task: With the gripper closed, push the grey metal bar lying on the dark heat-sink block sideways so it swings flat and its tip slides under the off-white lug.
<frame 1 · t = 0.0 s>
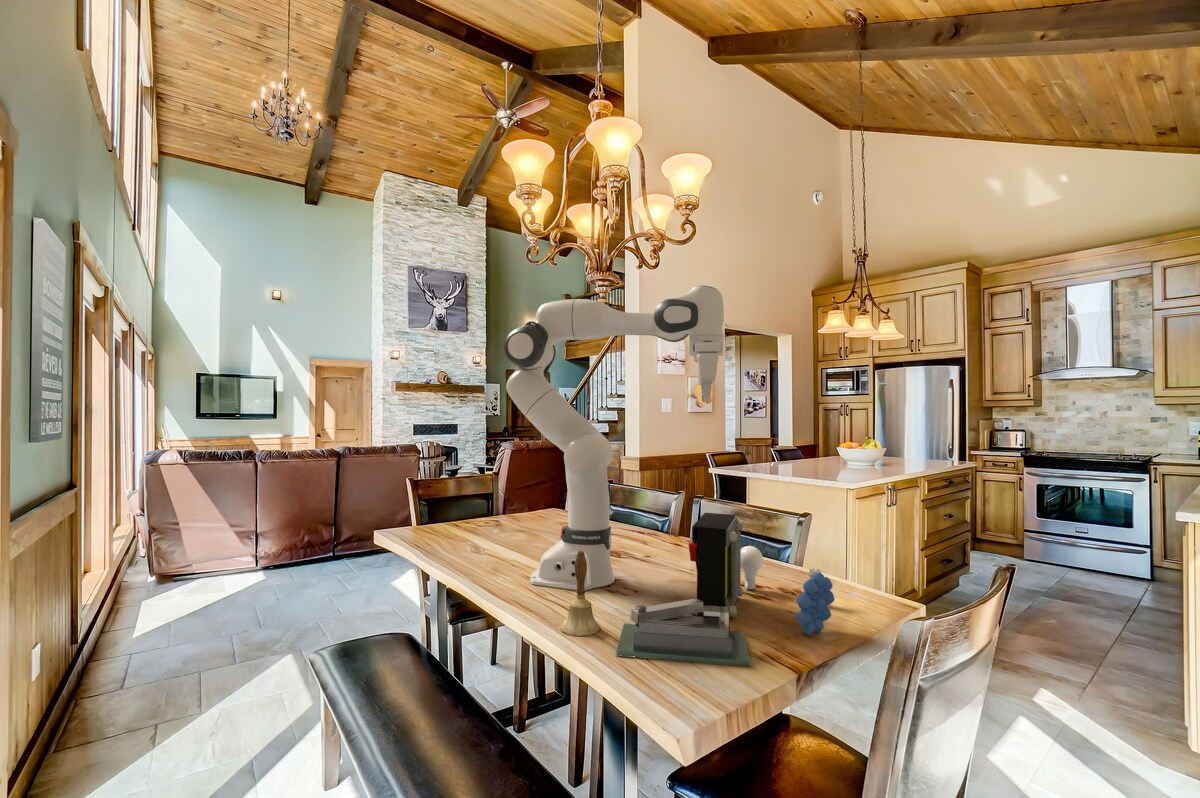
hand: (706, 401, 142), 48 cm above the table, tool pointing down, fingers open, 8 cm apart
lightbulb: (749, 590, 139), on the table
rook chess piece: (814, 605, 129), on the table
grapes: (811, 631, 113), on the table
hand bell: (580, 629, 113), on the table
grey metal bar: (667, 609, 109), point 6 cm above the table, hinge at 35.0°
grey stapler: (682, 646, 105), on the table
electrical component: (717, 607, 126), on the table
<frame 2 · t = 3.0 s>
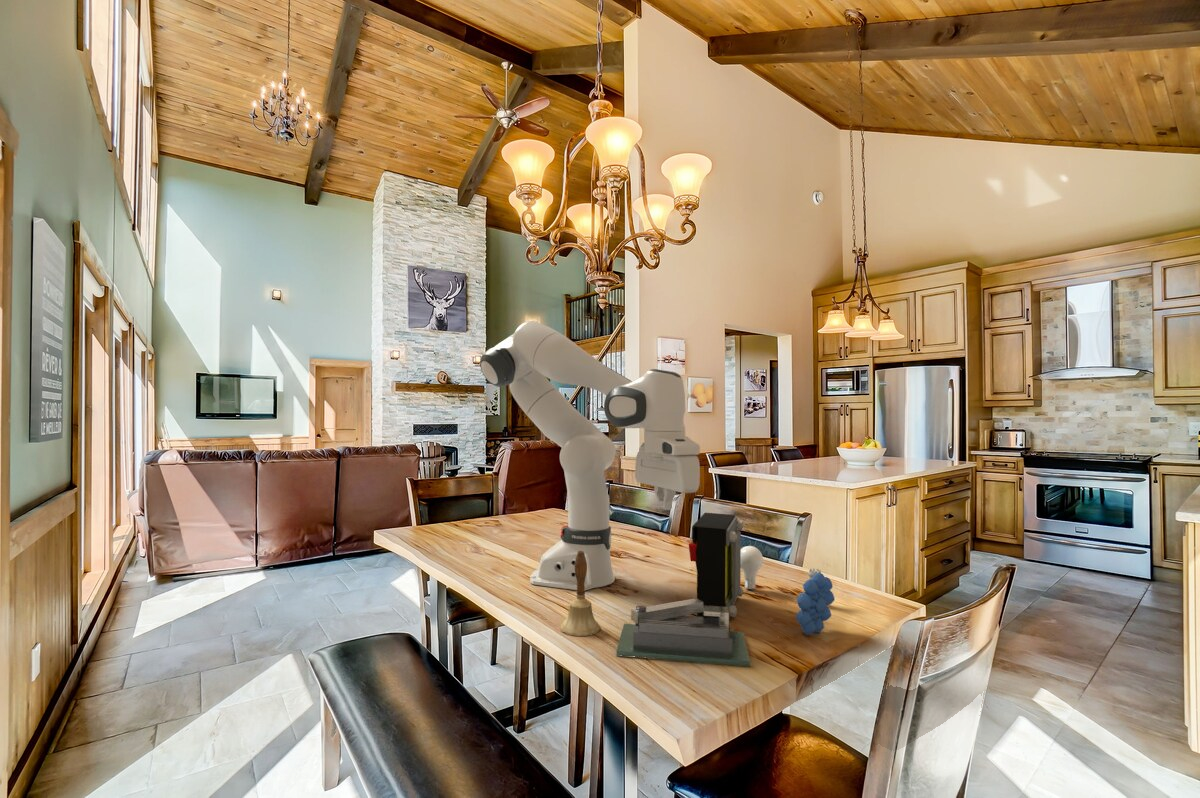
hand: (664, 508, 117), 24 cm above the table, tool pointing down, fingers closed
nothing on the table moved.
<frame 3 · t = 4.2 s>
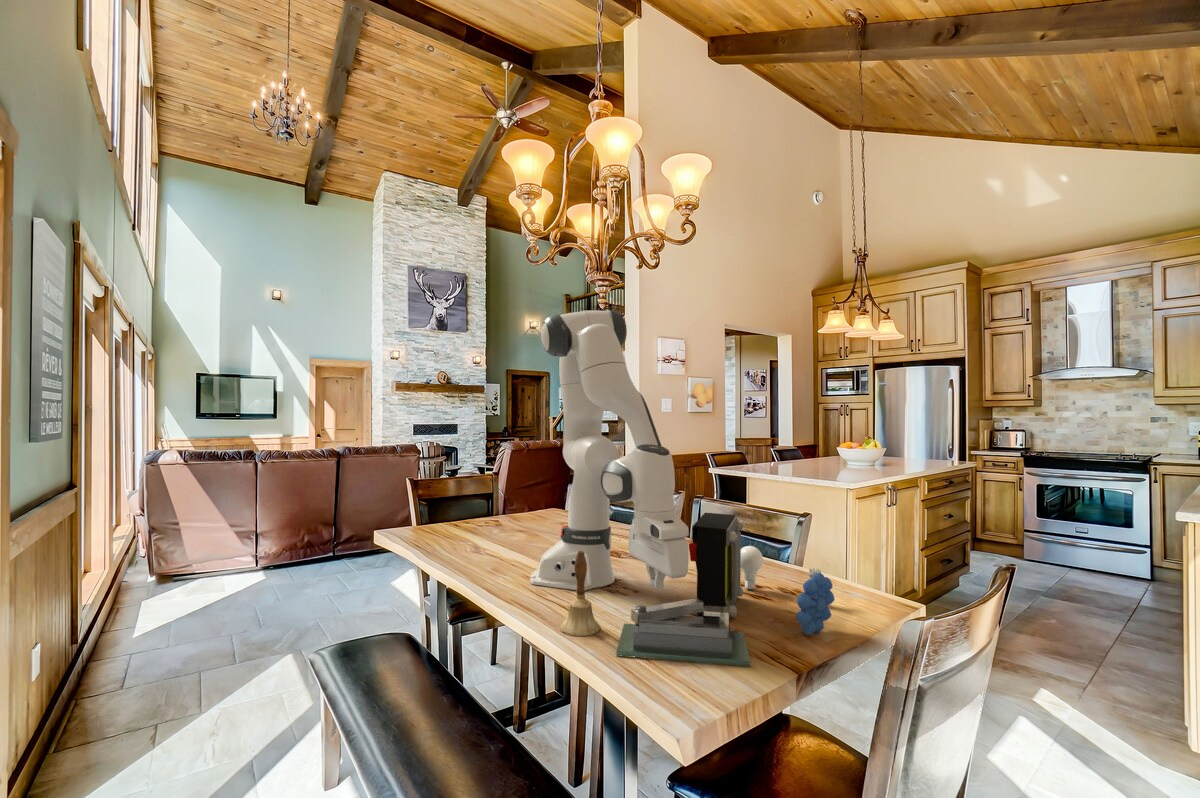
hand: (656, 587, 115), 8 cm above the table, tool pointing down, fingers closed
nothing on the table moved.
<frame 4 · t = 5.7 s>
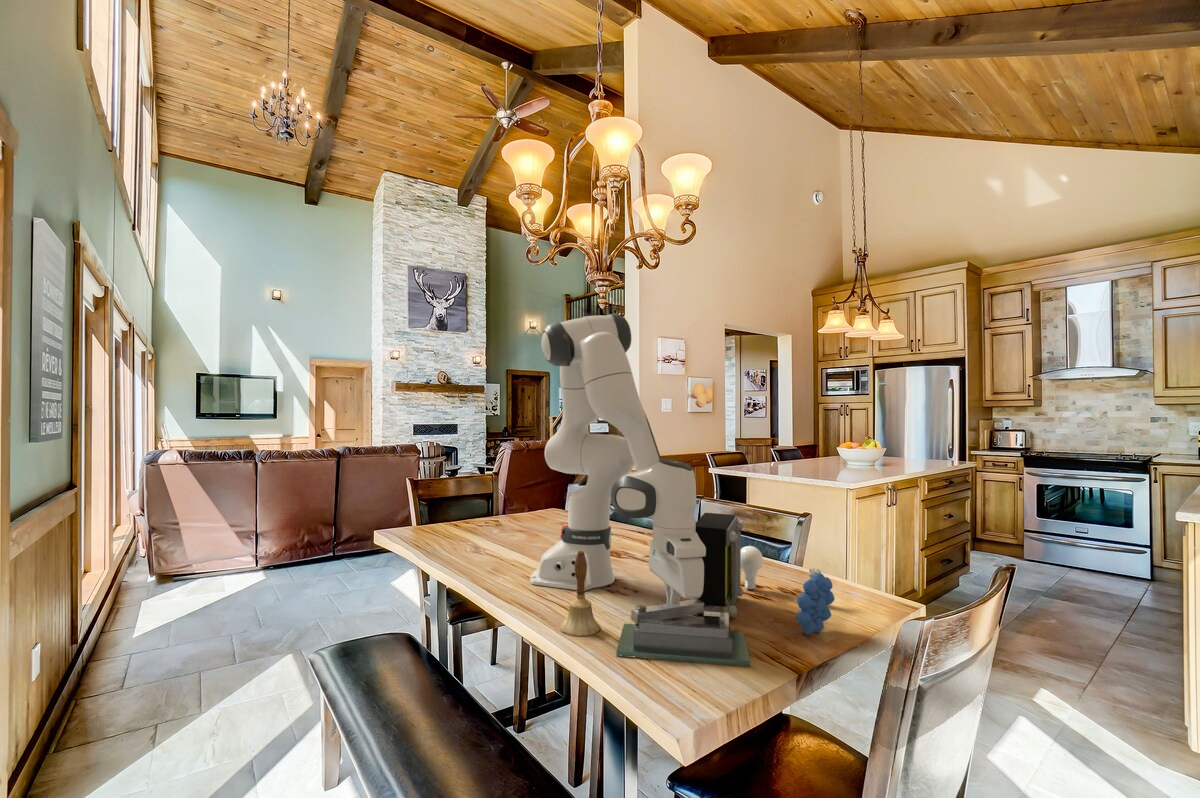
hand: (672, 606, 112), 5 cm above the table, tool pointing down, fingers closed
grey metal bar: (668, 609, 109), point 6 cm above the table, hinge at 33.4°, touching gripper
everything else where it was.
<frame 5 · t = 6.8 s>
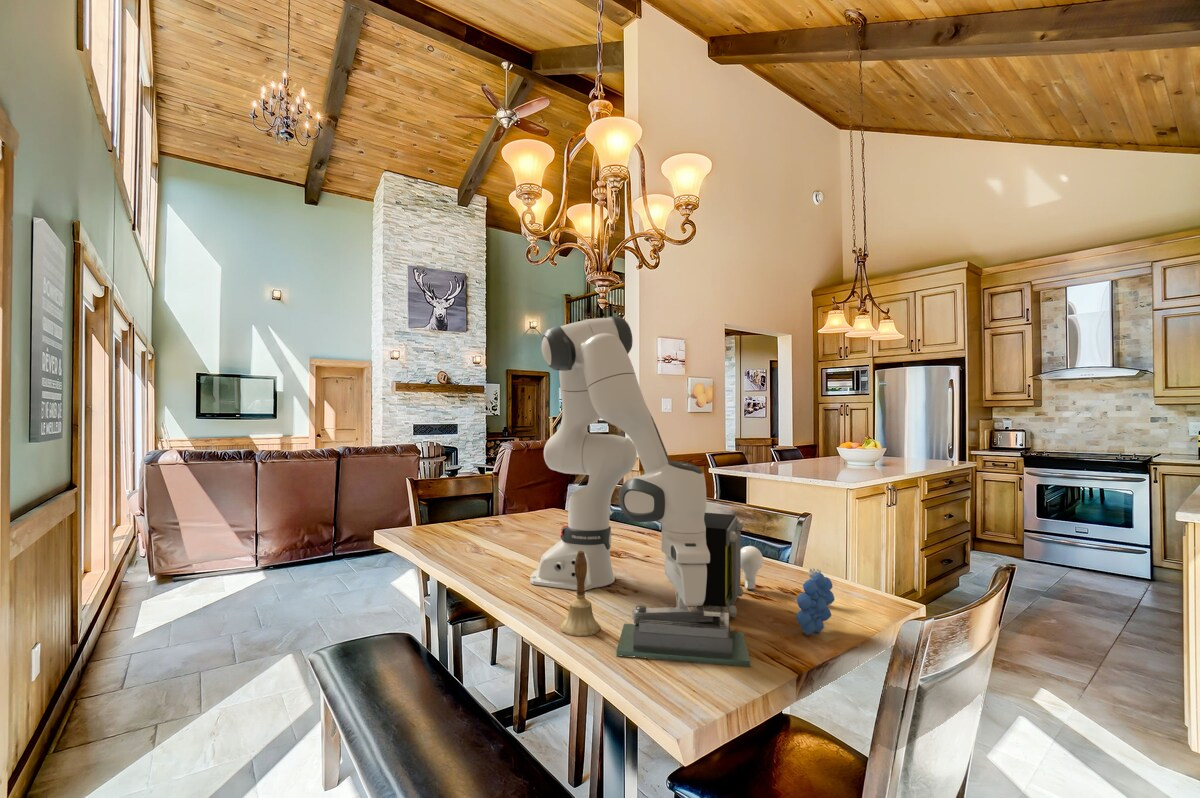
hand: (682, 612, 109), 5 cm above the table, tool pointing down, fingers closed
grey metal bar: (672, 613, 107), point 6 cm above the table, hinge at 13.8°, touching gripper
everything else where it was.
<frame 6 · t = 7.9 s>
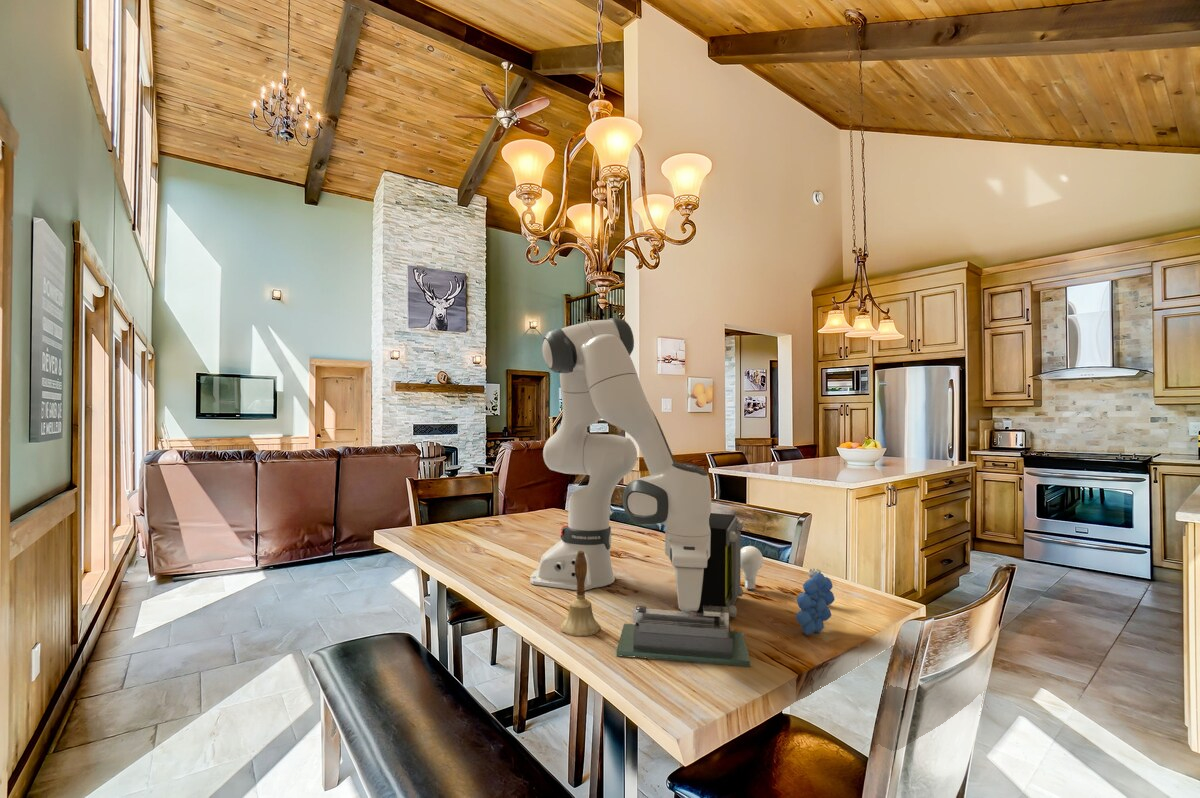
hand: (686, 616, 107), 5 cm above the table, tool pointing down, fingers closed
grey metal bar: (673, 616, 105), point 6 cm above the table, hinge at -2.1°, touching gripper
everything else where it was.
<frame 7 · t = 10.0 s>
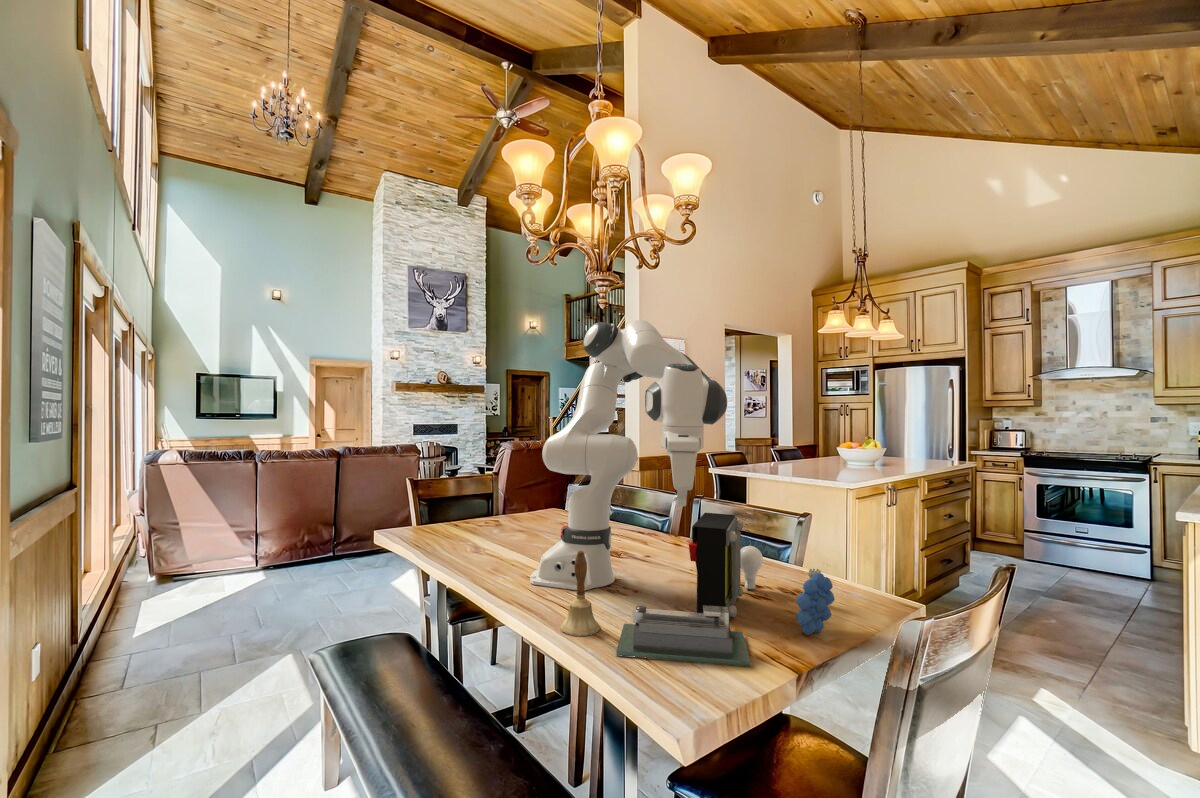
hand: (681, 505, 115), 25 cm above the table, tool pointing down, fingers closed
grey metal bar: (673, 616, 105), point 6 cm above the table, hinge at -2.2°
everything else where it was.
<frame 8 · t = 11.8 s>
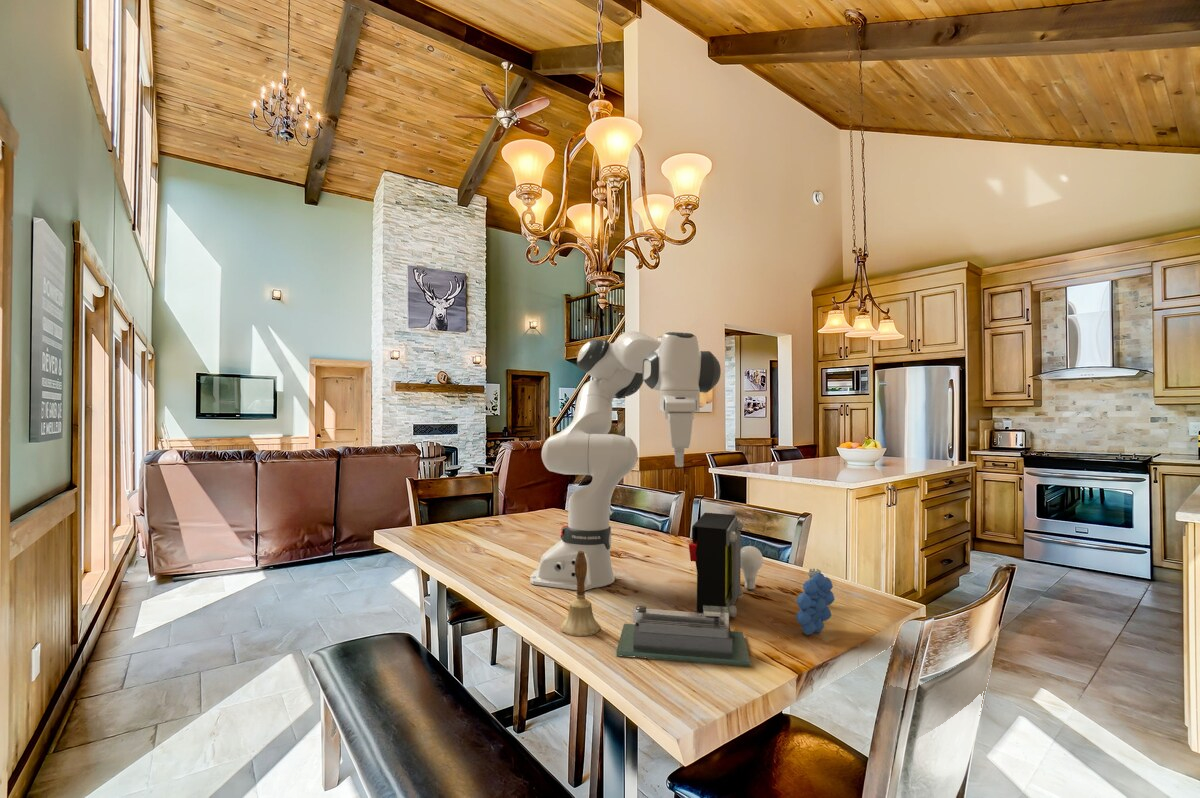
hand: (679, 466, 120), 33 cm above the table, tool pointing down, fingers closed
nothing on the table moved.
at the end: grey metal bar at -2° (first picture: +35°) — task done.
